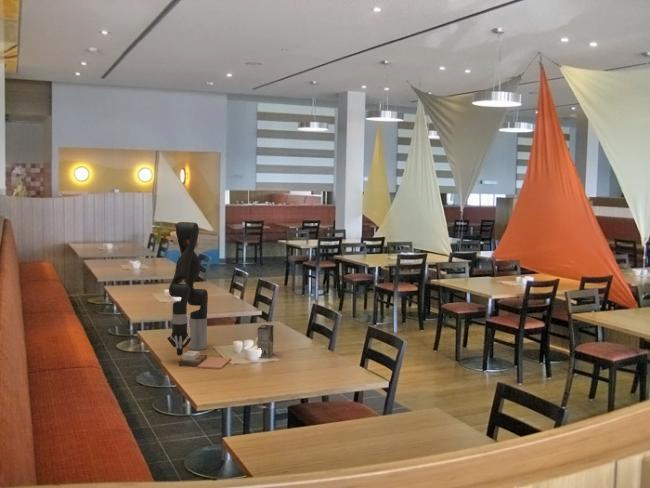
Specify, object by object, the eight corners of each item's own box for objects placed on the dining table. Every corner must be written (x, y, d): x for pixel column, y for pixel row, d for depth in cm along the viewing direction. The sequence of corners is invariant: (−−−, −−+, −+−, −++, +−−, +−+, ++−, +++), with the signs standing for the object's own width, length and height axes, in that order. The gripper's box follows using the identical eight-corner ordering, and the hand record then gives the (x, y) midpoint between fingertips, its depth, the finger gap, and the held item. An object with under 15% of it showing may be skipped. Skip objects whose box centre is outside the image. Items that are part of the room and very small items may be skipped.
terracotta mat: (208, 358, 359) (208, 356, 359) (231, 360, 358) (231, 358, 357) (197, 368, 342) (197, 366, 342) (220, 369, 340) (220, 367, 340)
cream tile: (188, 355, 356) (188, 350, 356) (199, 355, 355) (199, 351, 355) (182, 359, 347) (182, 354, 347) (193, 360, 346) (193, 355, 346)
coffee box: (262, 353, 372) (262, 324, 371) (273, 354, 371) (273, 325, 369) (257, 357, 363) (257, 327, 362) (268, 358, 362) (269, 328, 360)
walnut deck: (188, 358, 359) (188, 353, 359) (206, 359, 357) (206, 355, 357) (178, 365, 345) (178, 360, 345) (197, 366, 344) (197, 362, 343)
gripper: (194, 321, 353) (194, 354, 355) (170, 319, 355) (170, 352, 357) (189, 324, 346) (189, 357, 347) (164, 322, 348) (164, 356, 349)
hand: (179, 355), depth 352 cm, fingers closed
